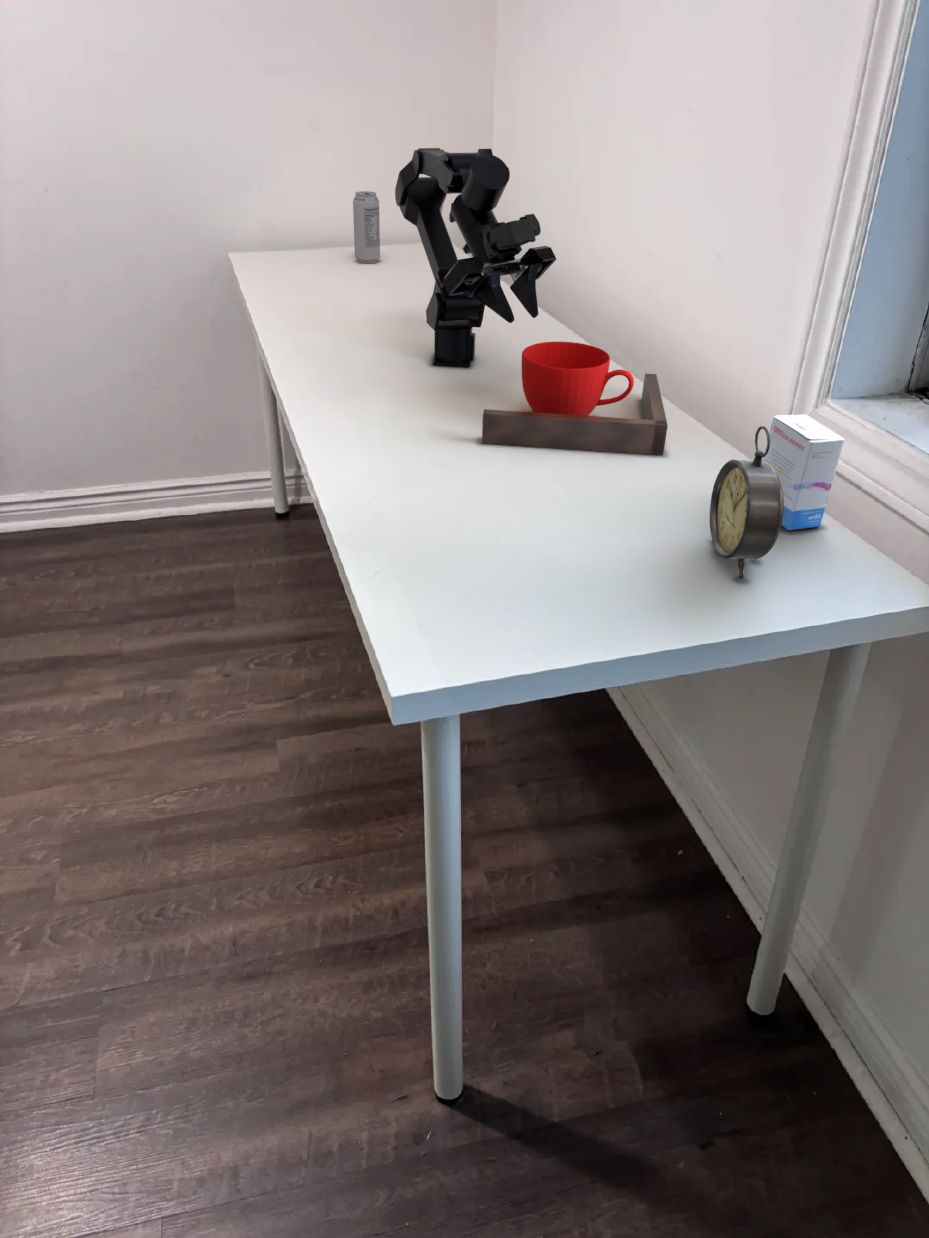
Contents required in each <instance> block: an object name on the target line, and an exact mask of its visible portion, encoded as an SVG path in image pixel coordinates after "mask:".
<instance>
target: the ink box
mask: <svg viewBox="0 0 929 1238" xmlns="http://www.w3.org/2000/svg"><path fill="white" fill-rule="evenodd" d="M769 434H770V447H769V451H768V453H767V455H766V456H765V457H762V461H764V462H767V463H769V464H770V465H771V466H772V467H773V468H774V469H775V470H776V471H777V473H778V475H779V477H780V480H781V483H782V487H783V494H784V513H783V521H782V526H781V527H783V528H784V529H785V530H787V531H793V530H802V529H810V528H818V527H819V528H820V527H821V525H822V521H823V517H824V514H825V511H826V506H827V503H828V499H829V495H830V492H831V488H832V484H833V482H834V478H835V474H836V471H837V469H838V464H839V461H840V458H841V453H842V450H843V446H844V443H845V439H844V438H843V437H841V436H840V435H839V434H837V433H835V432H834V431H832V430H831V429H829V428H827V427H825V426H824V425H822V424H821V423H820V422H818V421H816V420H815V419H814V418H812V417H810V416H808V415H807V414H783V415H774V416H773V417H772V421H771V425H770V429H769ZM766 449H767V444H766V445H765V449H764V452H765V451H766Z"/></svg>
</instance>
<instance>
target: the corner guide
mask: <svg viewBox="0 0 929 1238" xmlns="http://www.w3.org/2000/svg"><path fill="white" fill-rule="evenodd" d="M640 401H641V407H642V412H643V418H628V417H611V416H597V415H588V416H582V415H566V414H551V413H535V412H533V411H532V412H531V411H518V410H504V409H503V410H501V409H487V408H486V409H485V408H484V409H483V412H482V427H481V444H482V445H483V444H485V445H486V444H487V445H498V446H514V447H530V448H545V449H559V450H575V451H593V452H604V453H605V452H606V453H621V454H635V455H636V454H637V455H648V456H649V455H651V456H664V453H665V446H666V439H667V433H668V421H667V415H666V411H665V408H664V403H663V398H662V394H661V389H660V385H659V380H658V376H657V373H646V372H645V373H644V378H643V385H642V391H641V399H640Z"/></svg>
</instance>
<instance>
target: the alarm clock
mask: <svg viewBox="0 0 929 1238" xmlns="http://www.w3.org/2000/svg"><path fill="white" fill-rule="evenodd" d="M761 430H764V432H765V434H766V445H767V449H766V448H765V450H766V451H765V450H764V451H762V450H760V449H759V444H758V443H759V442H758V439H759V433H760V431H761ZM769 433H770V430H769V429H768V428H767V427H766V426H765V425H760V426H759V427H757V429H756V431H755V435H754V446H755V450H756V451H755V452H754V459H753V460H747V459H730V460H728V461H727V462H726V463H725V464H724V465H723V466H722V467H721V468H720V470H719V472H718V473H717V476H716V478H715V481H714V483H713V487H712V492H711V498H710V503H709V504H710V505H709V531H710V537H711V541H712V545H713V547H714V549H715V551H716V552H717V554H718V555H719V556H720V557H722V558H723V559H727V560H729V559H736V560H737V567H738V576H737V577H738V579H739V580H743V579H744V578H745V574H744V571H745V565H746V564H745V560H755V561H757V560H759V559H761V558H763V557H765V556H766V555H767V554H768V553H769V552H770V551H771V550H772V549H773V547H774V546H775V544H776V542H777V540H778V539H779V535H780V533H781V529H782V527H783V526H782V521H783V513H784V494H783V487H782V483H781V480H780V477H779V475H778V473H777V471H776V470H775V469H774V468H773V467H772V466H771V465H770V464H769V463H767V462H764V461H763V458H764V457H765V456H766V455H767V453H768V451H769V447H770V434H769Z"/></svg>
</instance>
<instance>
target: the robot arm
mask: <svg viewBox="0 0 929 1238" xmlns="http://www.w3.org/2000/svg"><path fill="white" fill-rule="evenodd" d="M420 175H425V176H420ZM510 177H511V172H510V167H508V166H507V164H506V163H505V162H504V161H503V159H501V158H500V157H499V156H496V155H494V153H493V150H492V148H478V150H477V151H476V152H449V151H445V150H444V149H441V148H440V147H421V148H420V147H419V148H417V149H415V150H413V154H412V158H411V160H409V162H407V164H406V165H405V166H404V167H403V168H402V169H401V170H400V171H399V173H398V176H397V181H396V184H395V187H394V188H395V190H394V198H395V203H396V206H397V207H399V211H400V212H401V214H402V216H403V218H404V219H405V220H406V221H407V222H409V223H410V224H412V225H413V226H415V227H416V228H417V232H418V235H419V237H420V241H421V243H422V247H423V249H424V252H425V255H426V258H427V261H428V264H429V267H430V269H431V273H432V276H433V278H434V286H433V290H432V295H431V297H430V299H429V302H428V304H427V306H426V309H425V315H426V316H425V318H426V319H425V320H426V324H427V325H428V326H429V327H430V328H431V329H432V331H434V347H433V350H434V351H433V352H434V353H433V354H434V355H433V356H434V357H433V360H432V365H433V366H445V367H446V366H447V367H461V368H462V367H464V368H469V367H470V366H471V365H472V362H473V361H474V360H475V357H476V333H475V332H473V328H481V327H482V324H483V319H484V315H485V314H484V313H485V308H486V307H487V308H489V309H490V310H491V311H493V312H494V313H496V315H498V316H499V317H501V318H502V319H503V320H505V321H506V322H507V323H508V324H512V323H513V322H514V321H515V315H514V312H513V310H512V307H511V304H510V303H509V301H508V298H507V296H506V295H505V294H506V293H505V292H504V290H503V288H502V285H501V277H502V276H507V275H509V276H510V277H511V280H512V282H513V283H512V284H511V285H510V286H509V289H510V291H511V292H512V293H513V295H514V296H515V297H516V299H517V300H518V301H519V302H520V303H521V305H522V306H523V308H524V309H525V311H526V312H527V313H528V314H529V315H530V317H532V318H533V319H536V318H537V317H538V316H539V306H538V298H537V297H538V295H537V287H536V286H537V284H536V283H537V282H536V281H537V280H539V279H540V278H541V277H542V276H543V275H544V274H545V273H546V272H547V270H549V269H550V267H551V266H553V264H554V263H555V262H556V261H557V257H556V255H555V253H554V251H553V248H552V247H551V246H547V245H541V246H535V247H529V248H528V249H527V250H526V252H525V253H524V254H523V255H522V257H521V258H518V259H516V257H515V256H517V255H519V254H520V253H521V252H522V251H523V248H522V246H524V245H526V244H529V243H534V242H536V241H537V240H536V237H538V236H539V235H541V232H542V230H541V224H540V222H539V219H538V218H537V217H536V215H535V213H529V214H525V215H524V216H520V217H519V218H518V219H515V220H511V221H507V222H505V221H500V222H499V221H498V219H497V217H496V214H495V213H494V211H493V210H494V209H496V208H497V206H498V204H499V202H500V200H501V197H502V196H503V193H504V191H505V189H506V188H507V185H508V183H509V182H510V181H509V180H510ZM448 194H450V195H451V194H458V195H457V196H456V197H455V198H454V200H453V202H452V203H451V204H450V210H449V211H450V212H449V215H448V216H449V217H448V218H449V222H450V223H451V224H452V223H456V225H457V227H458V229H459V231H460V233H461V235H462V237H463V240H464V241H465V243H466V244H465V245H464V246H463V247H462V250H463V253H464V254H465V255H467V254H468V255H469V254H471V257H466V258H460V259H459V258H458V256H457V253H456V251H455V248H454V245H453V242H452V240H451V236H450V234H449V231H448V228H447V226H446V222H445V220H444V218H443V214H442V212H443V207H444V203H445V200H446V197H447V195H448Z"/></svg>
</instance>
